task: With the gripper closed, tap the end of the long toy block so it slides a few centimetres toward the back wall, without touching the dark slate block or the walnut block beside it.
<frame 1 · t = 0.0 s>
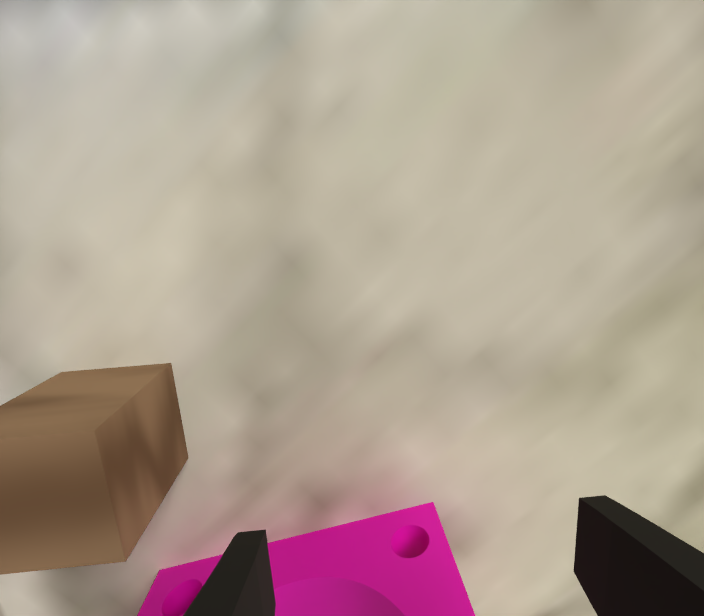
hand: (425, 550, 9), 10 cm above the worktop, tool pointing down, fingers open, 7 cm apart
toy block: (311, 575, 21), on the worktop
walnut block: (127, 416, 18), on the worktop
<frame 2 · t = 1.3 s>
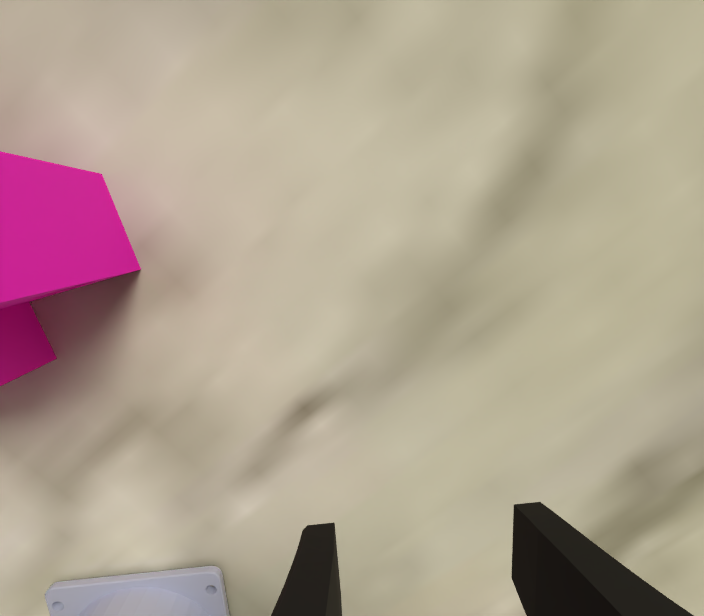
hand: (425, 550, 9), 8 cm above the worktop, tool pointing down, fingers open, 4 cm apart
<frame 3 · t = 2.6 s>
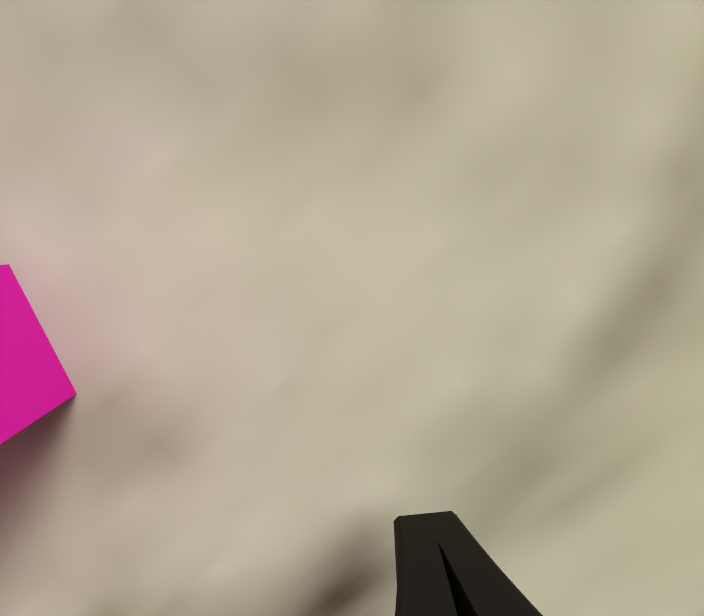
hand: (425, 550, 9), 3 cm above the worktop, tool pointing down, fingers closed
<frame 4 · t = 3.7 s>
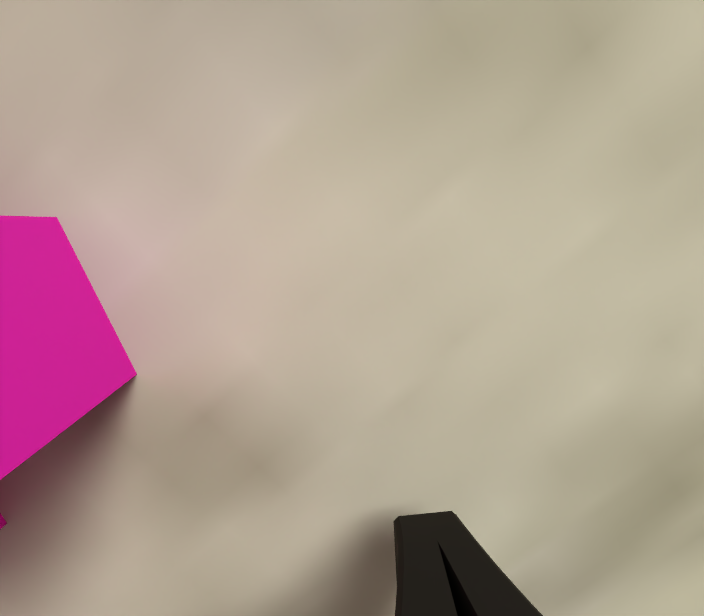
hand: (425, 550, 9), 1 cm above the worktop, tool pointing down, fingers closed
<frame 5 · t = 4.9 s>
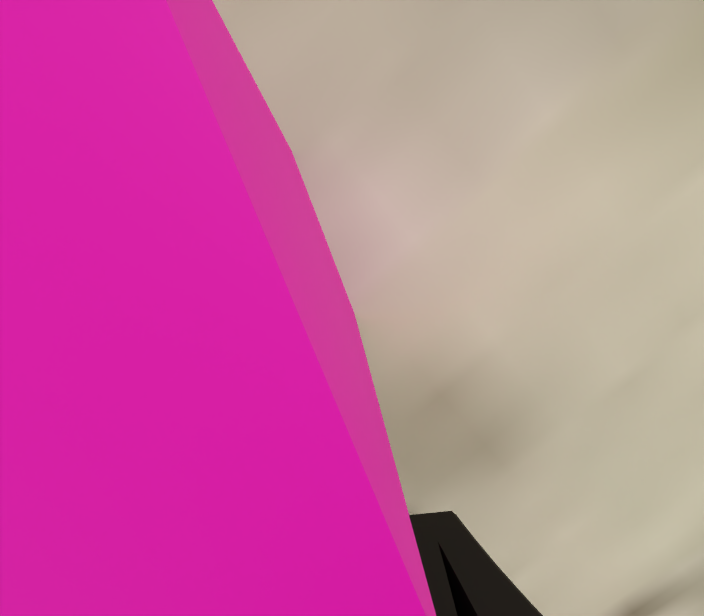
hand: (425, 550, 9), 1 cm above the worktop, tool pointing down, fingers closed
toy block: (56, 395, 9), on the worktop
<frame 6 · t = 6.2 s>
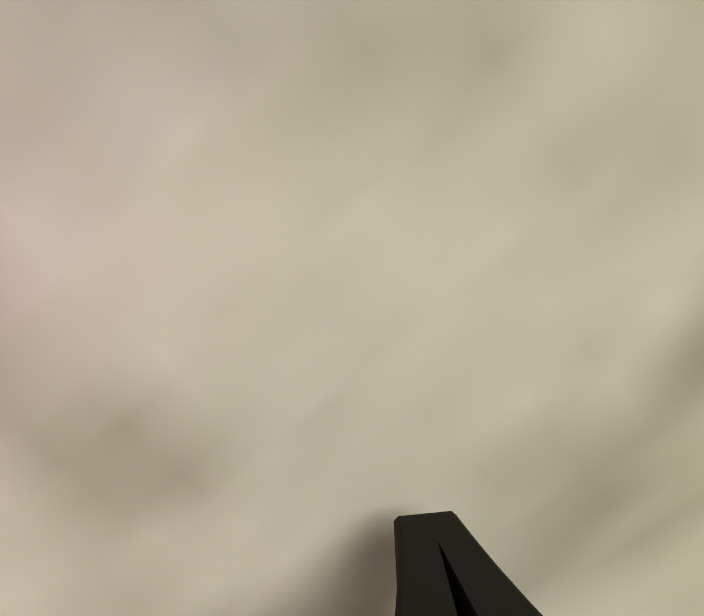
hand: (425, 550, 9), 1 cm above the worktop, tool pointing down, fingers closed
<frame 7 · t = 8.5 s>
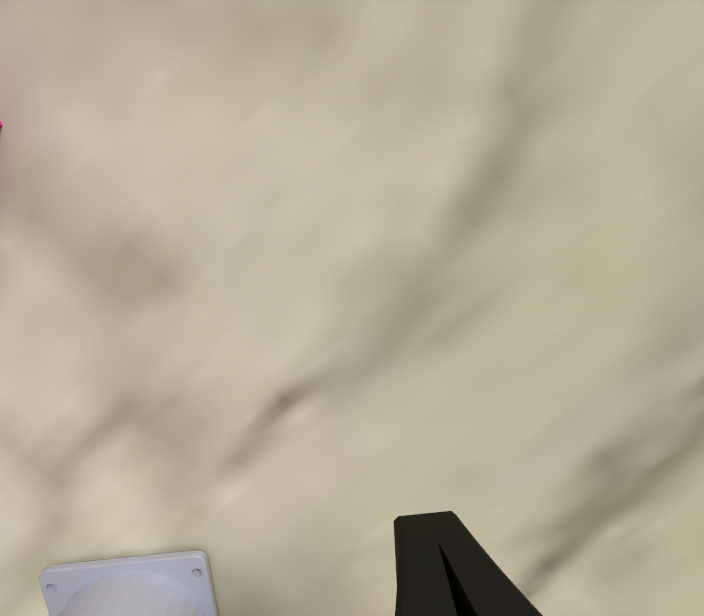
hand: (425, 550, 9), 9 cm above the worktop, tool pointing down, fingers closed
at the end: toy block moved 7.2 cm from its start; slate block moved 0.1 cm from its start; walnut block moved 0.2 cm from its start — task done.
